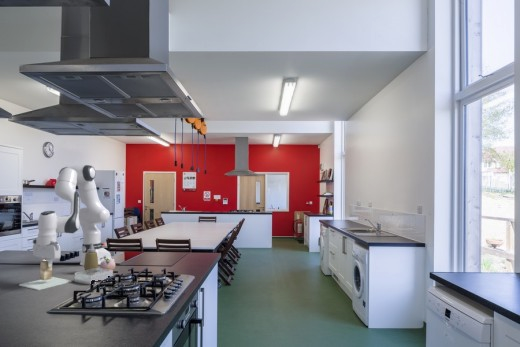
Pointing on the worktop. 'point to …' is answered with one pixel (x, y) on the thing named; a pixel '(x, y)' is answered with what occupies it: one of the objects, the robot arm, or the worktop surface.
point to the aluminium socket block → (92, 275)
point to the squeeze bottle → (91, 258)
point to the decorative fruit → (107, 264)
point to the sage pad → (45, 283)
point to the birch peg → (45, 271)
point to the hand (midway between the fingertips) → (46, 266)
